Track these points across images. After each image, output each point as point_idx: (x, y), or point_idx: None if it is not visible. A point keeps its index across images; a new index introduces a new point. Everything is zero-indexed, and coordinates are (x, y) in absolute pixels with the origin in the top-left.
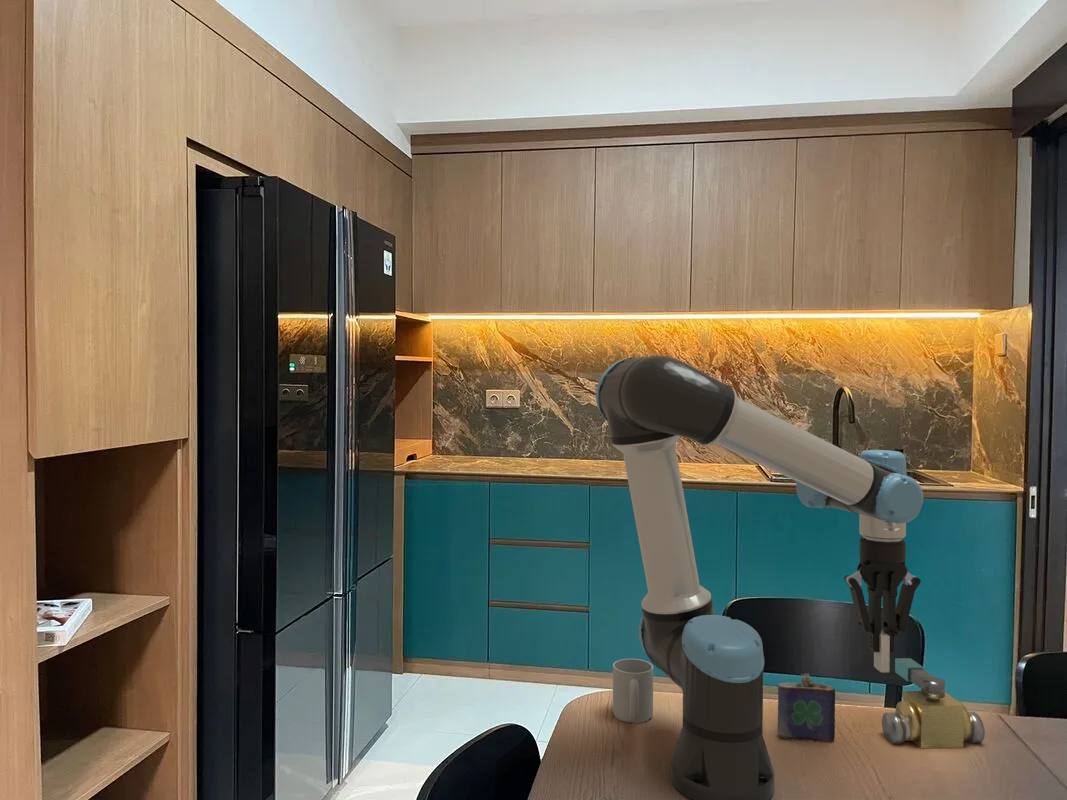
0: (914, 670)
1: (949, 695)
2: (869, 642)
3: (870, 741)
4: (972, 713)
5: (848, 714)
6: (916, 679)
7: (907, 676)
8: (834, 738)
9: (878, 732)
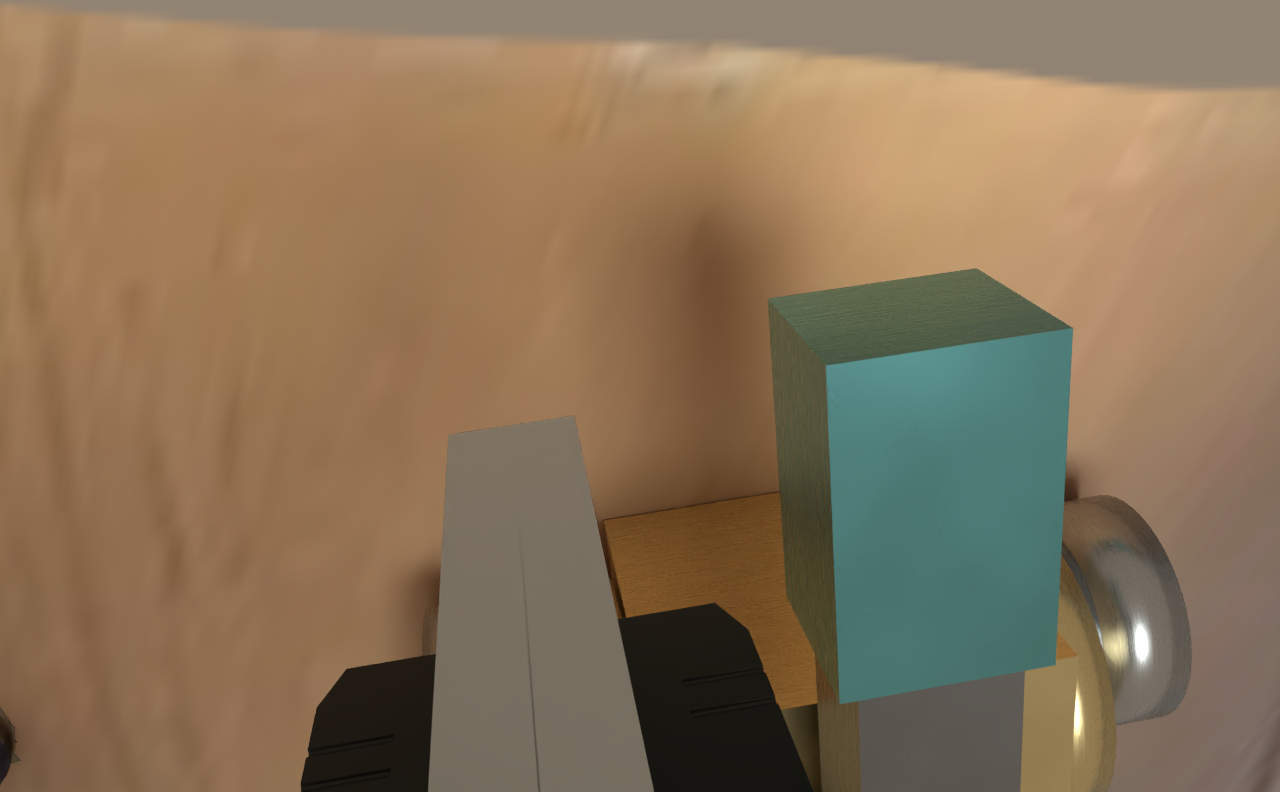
0: (891, 736)
1: (1068, 752)
2: (305, 766)
3: (301, 706)
4: (1157, 678)
5: (222, 247)
6: (839, 781)
7: (803, 619)
8: (10, 762)
9: (405, 559)
